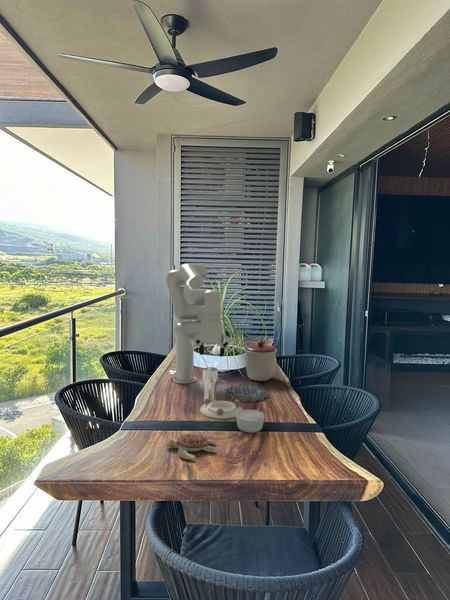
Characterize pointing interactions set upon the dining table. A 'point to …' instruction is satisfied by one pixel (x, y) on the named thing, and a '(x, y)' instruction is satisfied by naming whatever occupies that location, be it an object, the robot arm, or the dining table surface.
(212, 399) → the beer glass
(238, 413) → the ramekin
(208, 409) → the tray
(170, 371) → the robot arm
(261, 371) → the canister
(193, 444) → the decorative turtle
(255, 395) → the decorative tile
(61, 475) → the dining table surface
